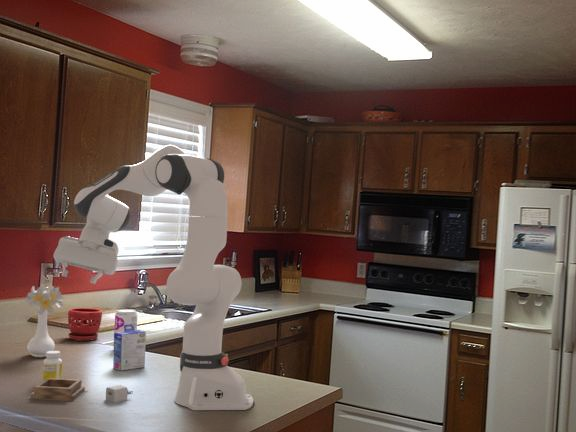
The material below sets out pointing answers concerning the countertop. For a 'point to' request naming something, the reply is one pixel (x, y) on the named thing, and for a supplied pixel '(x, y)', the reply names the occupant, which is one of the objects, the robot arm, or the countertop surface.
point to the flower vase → (43, 318)
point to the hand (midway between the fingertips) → (78, 279)
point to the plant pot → (84, 323)
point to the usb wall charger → (117, 393)
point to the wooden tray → (58, 389)
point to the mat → (63, 400)
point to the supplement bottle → (52, 365)
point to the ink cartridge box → (129, 349)
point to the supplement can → (125, 320)
